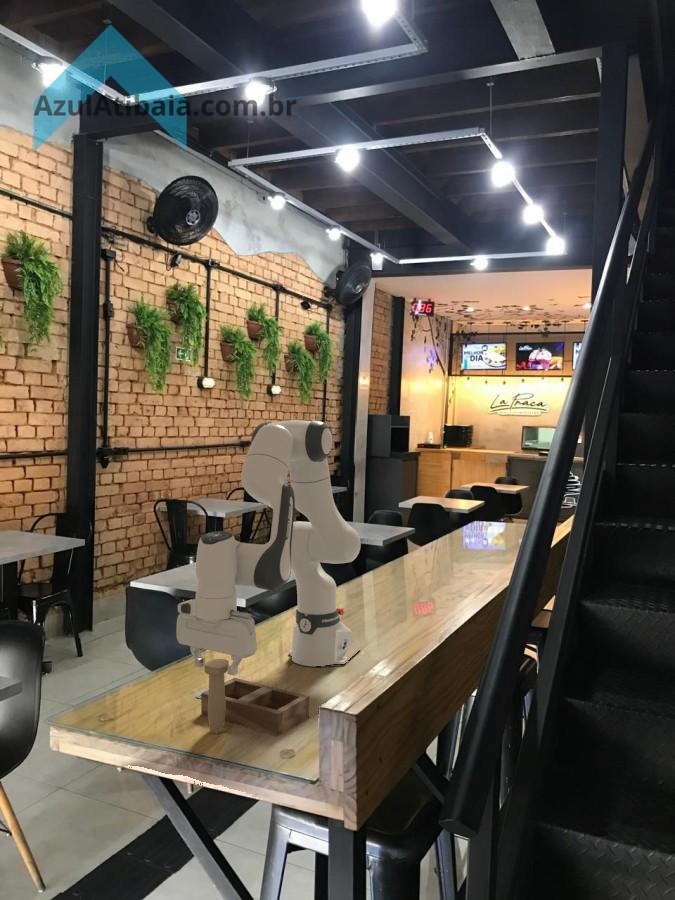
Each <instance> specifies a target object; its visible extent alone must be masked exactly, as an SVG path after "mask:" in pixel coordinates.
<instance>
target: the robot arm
mask: <svg viewBox="0 0 675 900" xmlns="http://www.w3.org/2000/svg"><path fill="white" fill-rule="evenodd" d="M333 437H334V436H333V432H332V430H331V428H330V427H329V425H328V424H327V423H326V422H324V421H323V422H322V421H321V420H320V421H319V420H312V421H310V420H305V419H304V420H299V419H290V420H281V421H274V422H273V421H267V422H266V421H265V422H262V423H260V424H258V425H257V426H256V427H255V428H254V430H253V431H252V433H251V438H250V445H249V448H248V450H247V454H246V456H245V459H244V462H243V465H242V467H241V474H240V480H241V481H240V482H241V484H242V487H243V488H244V491H246V492H247V494H248V495H249V496H251V497H252V498H253V499H254V500H256V501H257V502H259V503H261V504H263V505H265V506H268V507H269V508H271V509H272V520H271V521H272V523H271V528H270V529H271V531H270V539H269V541H268V542H267V543H265V544H260V543H259V544H258V543H246V542H240V541H238V540H236V539H235V536H234V534H233V533H231V532H230V531H225V530H224V531H223V530H217V531H211V532H208V533H204V535H202V536H201V537H200V538H199V539H198V540H199V541H198V543H197V545H198V546H197V548H196V549H197V550H196V559H195V560H196V561H195V577H196V581H197V586H196V587H197V588H196V590H195V597H194V598H191V599H189V600H186V601H183V602H180V603H178V604H177V612H178V613H179V614H178V615H177V619H176V639H177V641H178V643H179V644H180V645H184V646H189V647H190V653H191V654H192V655H191V656H192V658H193V660H194V662H193V663H194V667H197V668H202V667H205V664H206V662H205V661H206V658H205V657H203V655H202V652H201V650H202V649H203V650H206V651H207V650H208V651H210V652H211V651H212V652H216V653H221V654H225V655H229V656H230V658H231V660H232V662H231V665H229V666H228V667H227V670H228V671H227V672H226V673H227V675H230V676H236V675H237V674H238V672H239V666H240V663H241V662H242V660H243V659H247V658H249V657H252V656H255V654H256V653H257V649H258V643H257V633H256V628H255V627H256V626H255V619H254V618H253V616H251V614H250V613H248V612H243V611H239V610H238V609H237V607H238V606H237V605H238V602H237V600H238V597H237V596H238V592H237V588H236V586H240V587H248V588H249V587H250V588H257V589H260V590H266V591H270V592H275V591H277V590H279V589H280V588H282V587H283V586H284V585H285V584H286V583H287V582H288V581H289V580H290V577H291V573H293V575H294V578H295V583H296V591H297V592H296V594H297V596H296V597H297V608H296V609H295V623H296V624H295V625H294V626H293V631H292V632H293V633H292V641H291V649H289V650H288V655H289V654H290V655H289V656H290V657H291V656H292V657H291V658H292V659H291V661H292V662H293V663H295V664H297V665H300V666H304V667H305V666H306V667H316V666H321V667H326V666H325V665H330V664H341V663H344V662H345V661H346V660H347V657H346V656H345V653H346V651H347V650H348V649H349V648H350V647H351V646H353V644H354V642H353V640H354V639H353V632H352V630H351V629H350V628H349V627H347V626H346V625H345V623H343V622H342V621H341V618H340V616H343V615H344V613H345V609H344V608H343V607H337V584H336V581H335V580H334V578H333V577H332V576H331V575H329V574H328V573H326V571H325V570H324V569H323V568H322V565H321V563H325V564H334V565H335V564H336V565H337V564H345V563H346V564H347V563H352V562H353V561H354V560H355V559H356V558H357V557H358V555H359V554H360V551H361V546H362V543H361V537H360V535H359V532H358V531H357V530H356V529H355V528H354V527H352V526H351V525H350V524H349V523H348V522H346V520H345V519H344V518H343V516H342V515H341V513H340V512H339V510H338V508H337V505H336V503H335V499H334V496H333V489H332V483H331V473H330V467H329V462H328V457H329V456H330V454H331V453H332V450H333V446H334V438H333ZM288 475H289V480H290V483H288ZM295 510H296V511H298V512H300V513H301V514H302V515H303V516H305V517H306V518H307V520H308V521H300V520H299V521H298V520H296V521H294V520H295ZM343 659H345V660H343Z"/></svg>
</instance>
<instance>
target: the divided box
mask: <svg viewBox="0 0 675 900" xmlns="http://www.w3.org/2000/svg"><path fill="white" fill-rule="evenodd" d="M224 683H225V701H226V713H225V722H226V723H230V724H233V725H237V726H240V727H244V728H247V729H251V730H254V731H258V732H260V733H264V734H268V735H271V736H274V737H281V736H282V735H283V734H285V733H286V732H289V731H291V729H293V728H295V727H296V726H298V725H300V724H301V723H303V722H304V721H306V720H307V719H309V718H310V695H305V694H303V693H300V692H299V693H298V692H295V691H292V690H291V691H290V690H286V689H282V688H278V687H273V686H269V685H266V684H262V683H258V682H253V681H249V680H246V679H242V678H238V677H233V678H231V679H229V680H227V681H224ZM208 692H209V690H207V691H205V692H203V693H201V696H200V697H201V699H200V700H201V702H200V706H201V712H200V713H201V714H200V715H202V716H206V717H208Z"/></svg>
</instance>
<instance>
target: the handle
mask: <svg viewBox="0 0 675 900" xmlns="http://www.w3.org/2000/svg"><path fill="white" fill-rule="evenodd" d="M228 666H230V664H229V660H228V659H225V658H214V659H212V660H208V661H207V662H205V665H204V673H205V674H207V675H208V689H209V692H208V716H207V719H208V721H207V722H208V727H209V731H210V733H211V734H216V735H217V734H219V733H223V732H224V731H225V725H224V724H225V722H226V721H225V713H226V701H225V683H224V682H225V674H226V673H227V672H228V670H227V667H228Z"/></svg>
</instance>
